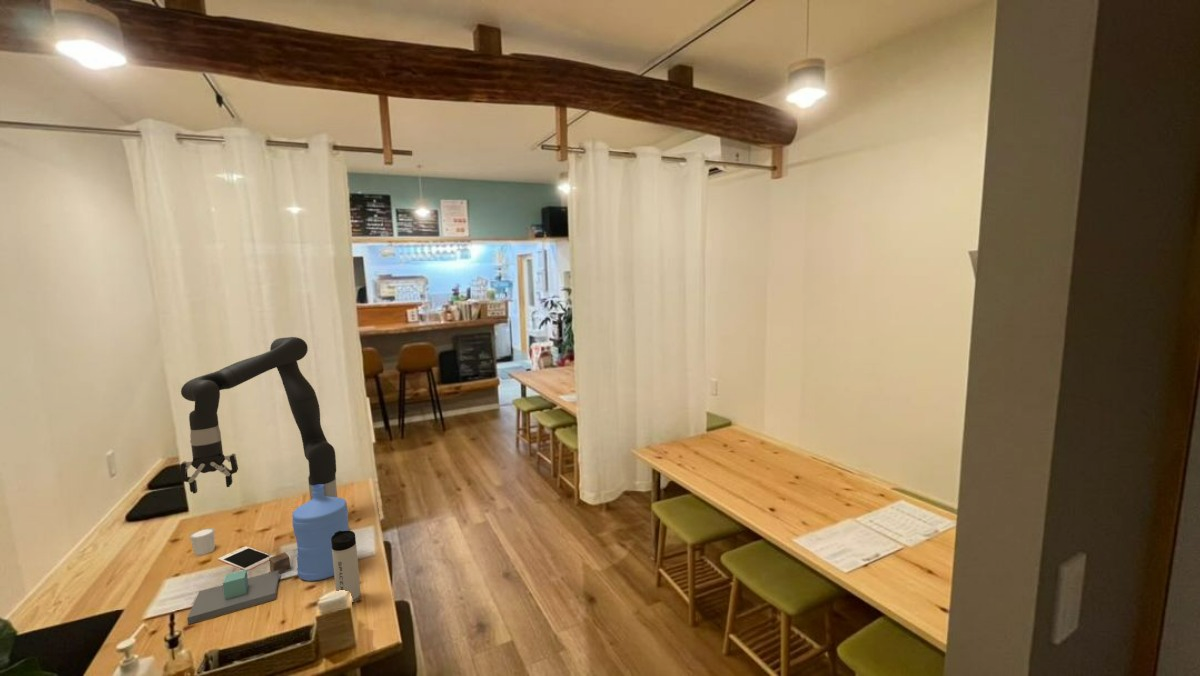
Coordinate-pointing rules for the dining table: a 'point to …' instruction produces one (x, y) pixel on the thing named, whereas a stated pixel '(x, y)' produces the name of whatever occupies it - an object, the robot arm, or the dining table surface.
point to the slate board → (233, 598)
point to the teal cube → (235, 584)
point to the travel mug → (346, 563)
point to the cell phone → (245, 558)
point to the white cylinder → (203, 541)
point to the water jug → (318, 533)
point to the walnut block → (280, 563)
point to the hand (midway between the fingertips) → (212, 489)
